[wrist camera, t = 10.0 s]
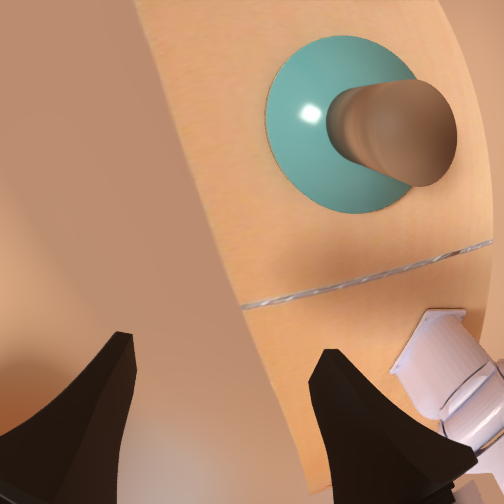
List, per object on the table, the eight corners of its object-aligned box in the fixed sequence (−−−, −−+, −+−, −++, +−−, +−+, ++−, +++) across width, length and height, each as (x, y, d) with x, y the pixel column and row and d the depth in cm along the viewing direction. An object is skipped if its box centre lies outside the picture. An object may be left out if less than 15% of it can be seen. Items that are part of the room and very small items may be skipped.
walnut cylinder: (383, 173, 17) (441, 198, 11) (317, 151, 16) (363, 168, 10) (401, 105, 15) (464, 108, 9) (335, 76, 14) (389, 60, 8)
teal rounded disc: (399, 221, 20) (407, 227, 19) (248, 191, 18) (249, 195, 17) (431, 80, 15) (441, 79, 14) (283, 18, 13) (287, 11, 12)
